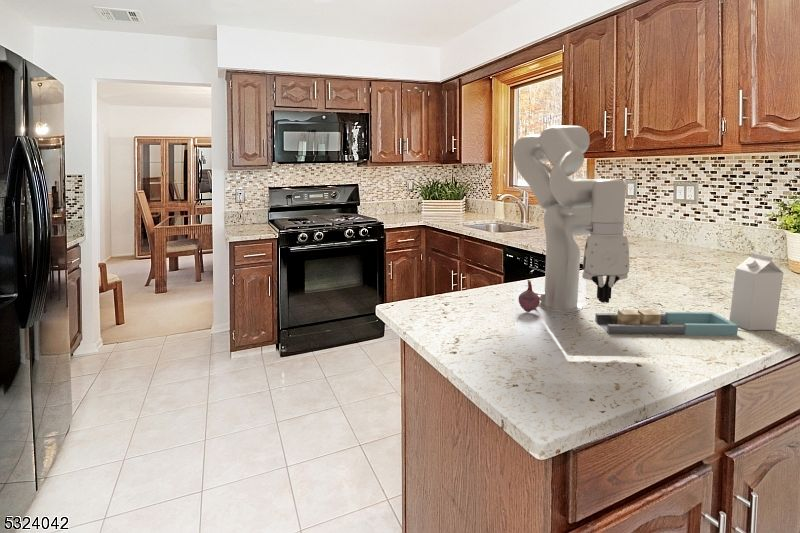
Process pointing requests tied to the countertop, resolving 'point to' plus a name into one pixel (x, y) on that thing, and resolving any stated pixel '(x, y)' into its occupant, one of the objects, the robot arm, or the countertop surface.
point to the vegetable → (529, 299)
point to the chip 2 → (649, 317)
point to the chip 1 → (628, 317)
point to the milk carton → (756, 293)
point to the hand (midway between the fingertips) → (603, 301)
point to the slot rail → (637, 326)
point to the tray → (715, 328)
